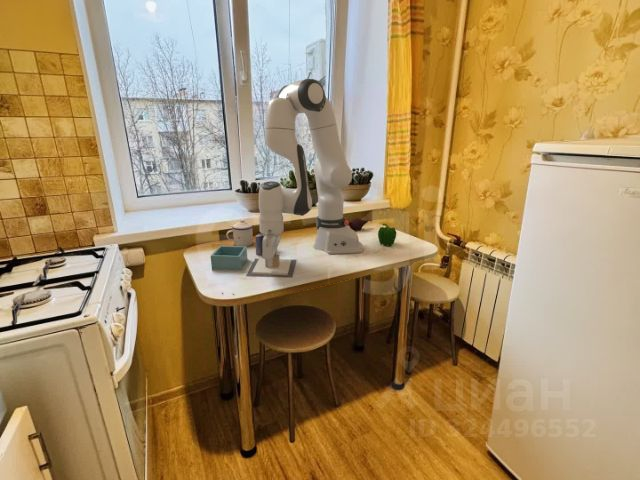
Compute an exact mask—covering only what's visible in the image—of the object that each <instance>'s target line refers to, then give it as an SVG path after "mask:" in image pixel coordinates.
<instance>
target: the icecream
mask: <svg viewBox="0 0 640 480" xmlns="http://www.w3.org/2000/svg"><path fill="white" fill-rule="evenodd" d="M348 222H349V224H348V225H347V226H348V227H350V228H351V229H352V230H353V231H361V230H362V229H363V227H364V226H365V225H366V224H367V223H368V222H369V220H367V219H366V220H365V219H361V218H358V217H355V218H353V219H352V220H351V221H349V220H348Z"/></svg>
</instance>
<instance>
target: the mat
mask: <svg viewBox="0 0 640 480" xmlns="http://www.w3.org/2000/svg"><path fill="white" fill-rule="evenodd" d="M259 259H260V258H256V257H255V259H254V260H253V262H252V263H251V265H250V267H249V269H248V270H247V273H246V274H245V277H254V278H255V277H259V278H260V277H261V278H289V279H290V278H291V279H293V277H294V273H295V269H296V264H297V259H289V260H291V264H290V268H289V272H288V275H268V274H252V271H253V270H254V268H255V266H256V264H257V262H258V260H259Z"/></svg>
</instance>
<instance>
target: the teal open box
mask: <svg viewBox="0 0 640 480" xmlns="http://www.w3.org/2000/svg"><path fill="white" fill-rule="evenodd" d="M247 261H248V246H247V247H246V246H235V245H219V246H218V247H217V248H216V249H215V250H214V251H213V253H211V254H210V263H211V264H210V265H211V271H212V272H213V271H214V270H217V271H219V270H221V271H223V270H224V271H242V269H243V267H244V266H245V264H246V263H247Z"/></svg>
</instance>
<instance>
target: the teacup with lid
mask: <svg viewBox="0 0 640 480" xmlns="http://www.w3.org/2000/svg"><path fill="white" fill-rule="evenodd" d="M231 227H232V229H230V230H228V231H227V232H226V235H225V236H226V238H227V239H228V241H231V242H233V246H246V247H247V248H248V247H250V246H253V244H254V236H253V235H254V234H253V228H254V226H253V224H252V223H251V222H248V221H246V220H245V219H243V218H242V219H240V220H239V221H238V222H236V223H234V224H233V225H232V226H231ZM230 233H232V236H233V238H230V237H229V234H230Z"/></svg>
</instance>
